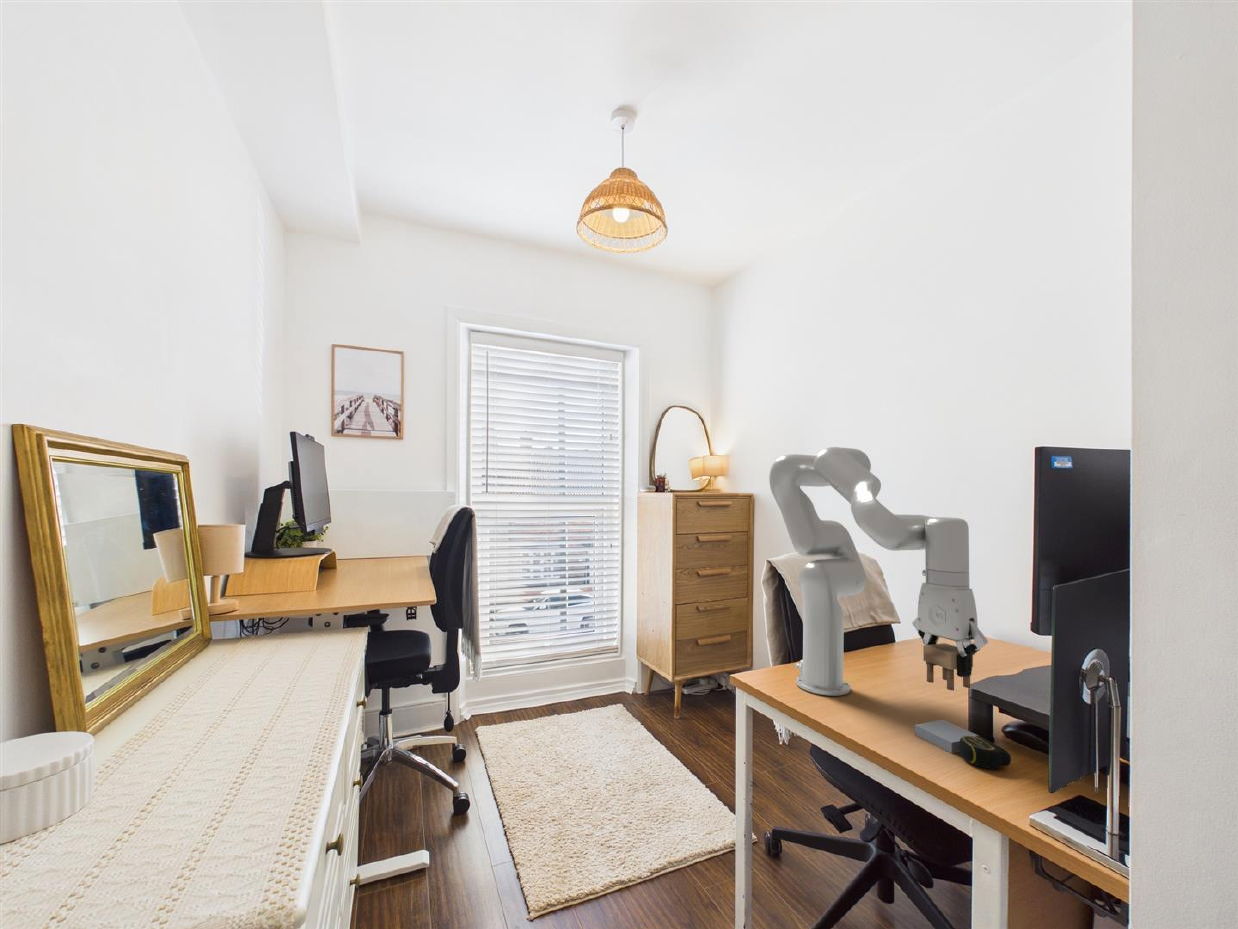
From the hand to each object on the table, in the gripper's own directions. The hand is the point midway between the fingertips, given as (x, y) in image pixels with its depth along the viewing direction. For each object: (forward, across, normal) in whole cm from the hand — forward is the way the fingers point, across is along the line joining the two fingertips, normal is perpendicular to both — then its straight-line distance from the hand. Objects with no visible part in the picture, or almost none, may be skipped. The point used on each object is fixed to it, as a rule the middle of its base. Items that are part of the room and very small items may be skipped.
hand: (948, 669), depth 107 cm
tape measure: (+14, +8, -1) cm, 16 cm away
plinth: (+14, 0, 0) cm, 14 cm away
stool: (+3, 0, 0) cm, 3 cm away
